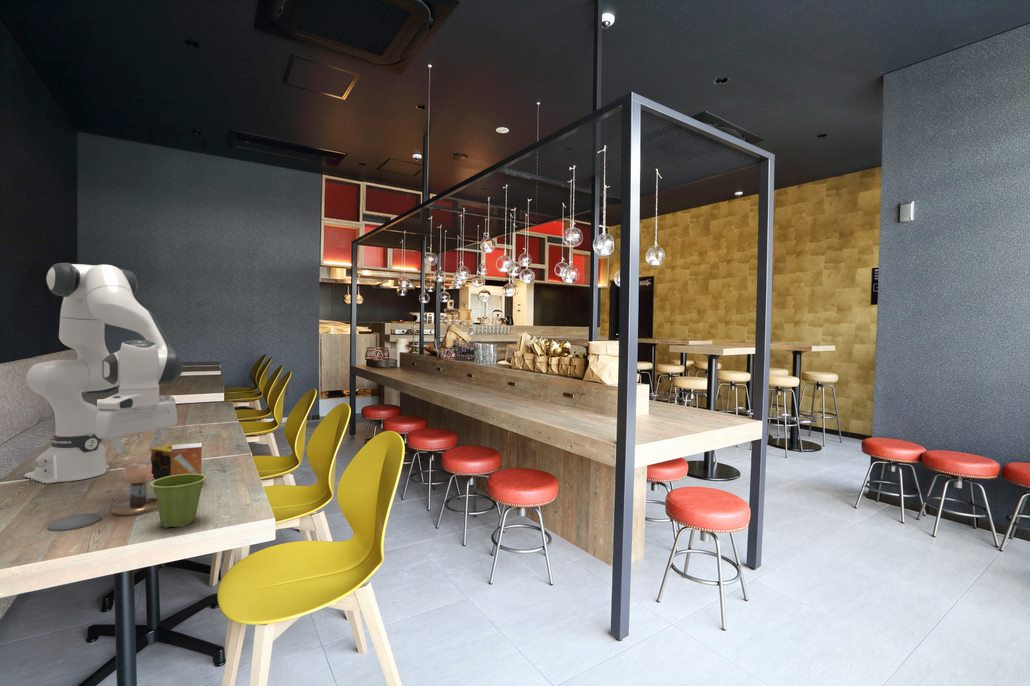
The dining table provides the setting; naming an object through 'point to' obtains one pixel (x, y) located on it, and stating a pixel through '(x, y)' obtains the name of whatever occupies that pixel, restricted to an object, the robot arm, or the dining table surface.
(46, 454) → the robot arm
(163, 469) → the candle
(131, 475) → the cap
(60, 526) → the pad
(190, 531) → the dining table surface
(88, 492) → the dining table surface
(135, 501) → the brown wide round part
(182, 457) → the small box
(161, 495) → the plant pot
